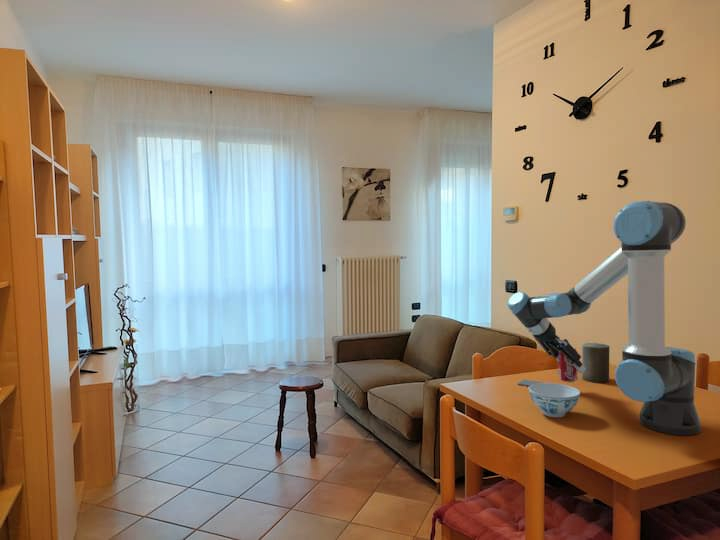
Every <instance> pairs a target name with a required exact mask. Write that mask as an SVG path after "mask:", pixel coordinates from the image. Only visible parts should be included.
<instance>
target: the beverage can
mask: <svg viewBox="0 0 720 540" xmlns="http://www.w3.org/2000/svg"><path fill="white" fill-rule="evenodd" d="M572 347H573V348H574V349H575V350H576V351H577V348H576V347H574V346H572ZM558 354H559V361H558V379H559V380H561V381H562V382H564V383H565V382H566V383H575V382H576V381H578V378H579V377H578V374H579V371H578V370H577V369H576V368H575V367H574V366H573V364H571V360H570V359H568V358H567V357H566V356H565V355H564V354H563V353H561V352H560V351H559V353H558Z"/></svg>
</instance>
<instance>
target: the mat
mask: <svg viewBox="0 0 720 540" xmlns="http://www.w3.org/2000/svg"><path fill="white" fill-rule="evenodd" d="M537 383H544V381H535V380H530V379H523V380H521V381H520V382H518V383H517V386H521V385H524V386H523V387H527V386H530V385H533V384H537Z"/></svg>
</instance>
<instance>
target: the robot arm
mask: <svg viewBox="0 0 720 540" xmlns="http://www.w3.org/2000/svg"><path fill="white" fill-rule="evenodd" d="M686 223H687V222H686V217H685V214H684V212H683V211H682V210H681V209H680V208H679V207H678V206H676V205H674V204H672V203H669V202H658V201H657V202H656V201H652V200H651V201H650V200H641V201H633V202H631V203H627V205H624V206H623V207H622V208H621V209H620V210H619V211H618V212H617V214H616V215H615V218H614V219H613V226H612V228H613V233H614V235H615V237H616V238H617V239H618V240H619V241H620V242H621V243H620V244H621V246H620V247H618V248H617V249H616V250H615V251H613V253H611V254H610V255H609V256H608V257H607V258H606V259H605V260H603V261H602V262H601V263H600V264H599V265H598V266H596V267H595V268H594V269H593V270H591V272H589V273H588V274H587V275H586V276H585V277H583V278H582V279H581V280H580V281H579V282H577V284H575V286H573V287H571V289H570V290H568V291H567V292H559V293H557V292H555V293H550V294H546V295H545V294H544V295H539V296H532V297H531V296H529V295H528V294H527V293H526V292H524V291H518V292H515V293H514V294H512V295H511V296H510V297H509V299H508V301H507V307H508V308H509V310H510V312H511V313H512V315H514V316H515V317H516V318H517V319H518V321H520V323H521V325H523V326H524V327H525V328H526V329H527V332H528V333H530V334H531V335H532V337H533V338H534V341H536V342H537V343H538V344H539V345H540V347H541V348H542V349H543V350H544V351H545V352H546V353H547V355H548V356H551V357H552V358H555V359H556V361H557V362H559V351H560V352H561V353H563V354H564V355H565V356H566V357H567V358H568V359H570V360H571V364H573V366H574V367H575V368H576V369H577V370H578V374H580V375H582V374H583V372H584V371H585V369H586V367H585V366H584V365H583V364H582V361H581V359H582V356H581V355H580V353H579V352H578V351H577V349H576V350H575V349H574V348H575V347H574V346H572V345H571V344H570V342H569V340H568V339H566V338H564V339H563V340H562V339H561V338H560V337H559V336H558V335H556V333H557V332H556V331H557V330H556V327H555V326H554V325H553V324H552V323H551V322H550V321H549V319H550V318H562V317H566V316H572V315H580V314H583V313H586V312H587V311H588V310H590V307H591V305H592V303H593V302H595V301H596V300H597V299H598V298H600V297H601V296H602V295H603V294H604V293H606V292H607V291H609V290H610V289H611V288H612V287H614V285H616V284H617V283H618V282H620V281H621V280H622V279H623V278H624V277H626V276H627V304H628V305H627V306H628V307H627V309H628V310H627V311H628V312H627V317H628V318H627V319H628V321H627V322H628V323H627V324H628V327H627V329H628V330H627V332H628V333H627V334H628V337H627V338H628V339H627V340H628V343H627V344H626V345H625V346H624V347H622V351H621V352H622V354H621V355H622V359H621V360H622V361H621V362H620V363H619V364H618V365H617V367H616V368H615V370H614V379H615V382H616V386H617V387H618V390H620V391H621V392H622V393H623V394H624V395H625V397H627V398H629V399H631V400H632V401H636V402H638V403H643V405H642V407H641V409H640V412H639V414H638V415H639V416H638V420H639V424H641V425H642V426H644V427H646V428H648V429H650V430H652V431H655V432H658V433H659V432H660V433H664V434H669V435H675V436H694V435H699V433H701V432H702V423H701V420H700V417H699V413H698V411H697V408H696V405H695V380H696V379H695V378H696V375H695V374H696V372H695V371H696V364H697V363H696V357H695V354H694V352H693V351H691V350H688V349H684V348H677V347H672V346H671V347H669V346H666V344H665V342H666V341H665V340H666V339H665V338H666V337H665V335H666V334H665V331H666V330H665V328H666V327H665V326H666V325H665V323H666V322H665V317H666V316H665V257H666V255H669V253H670V252H671V251H672V244H673V243H675V242H676V241H677V240H678V239H679V238H680V237H681V236H682V235H683V233H684V231H685V229H686ZM573 347H574V348H573Z"/></svg>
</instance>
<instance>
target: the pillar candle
mask: <svg viewBox="0 0 720 540" xmlns="http://www.w3.org/2000/svg"><path fill="white" fill-rule="evenodd" d="M581 345H582V347H581V349H582V353H581V355H582V356H581V363H582V364H583V365H584V366H585V367H586V369H585V371H584V372H583V374H581V379H582V380H583V381H587V382H592V383H597V384H600V383H601V384H602V383H603V384H604V383H608V382H610V345H608V344H605V343H599V342H598V343H597V342H586V343H581Z"/></svg>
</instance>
